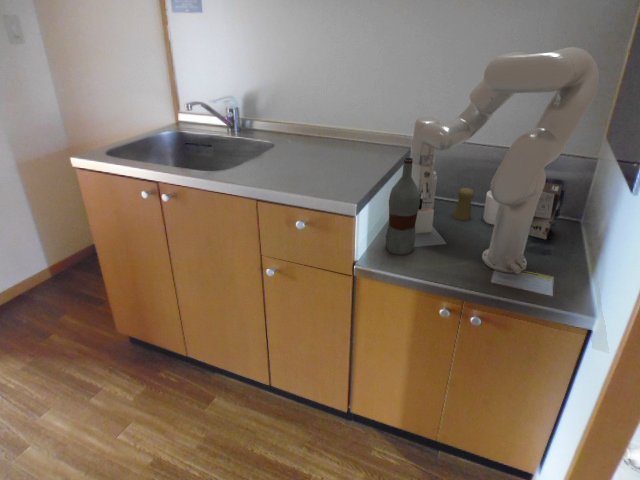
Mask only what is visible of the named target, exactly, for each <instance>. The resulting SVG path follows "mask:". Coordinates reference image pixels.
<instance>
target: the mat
mask: <svg viewBox="0 0 640 480" xmlns="http://www.w3.org/2000/svg"><path fill="white" fill-rule="evenodd" d="M415 236H416V240H415V244H414V247H413V248H419V247H428V246H429V247H430V246H438V245H439V246H440V245H447V242H446V241H445V239H443V237H442V236H441V235H440V233H439V232H438V231H437V230H436V228H435V227H434V226H433V225H432V231H431V232H425V233H415Z"/></svg>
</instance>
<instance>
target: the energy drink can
mask: <svg viewBox="0 0 640 480" xmlns="http://www.w3.org/2000/svg"><path fill="white" fill-rule="evenodd" d="M437 181H438V176H437V171H435V170H434V176H433V187H432V193H431V194H429V193H428V192H427V191H426V199H423V202H422V209H433V210H434V205H435V204H434V203H435V196H436V189H437Z"/></svg>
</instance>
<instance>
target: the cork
mask: <svg viewBox="0 0 640 480" xmlns="http://www.w3.org/2000/svg"><path fill="white" fill-rule="evenodd" d="M474 194H475V193H474V190H473V189H471V188H469V187H463V188H459V190H458V193H457V197H458V200H457V203H456V206H455V209H454V213H453V218H455V219H456V220H459V221H471V215H472V199H473V198H474Z"/></svg>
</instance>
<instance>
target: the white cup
mask: <svg viewBox="0 0 640 480" xmlns="http://www.w3.org/2000/svg"><path fill="white" fill-rule="evenodd" d="M484 202H485V203H484V209H483V211H484V212H483V218H482V219H483V221H484V222H486V223H487V224H489V225H493V226H494V225H495V220H496V215H497V211H498V207H499V203H497V202H496V201H495V200H494V198H493V197H492V194H491V190H488V191H487V192H486V197H485V201H484Z"/></svg>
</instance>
